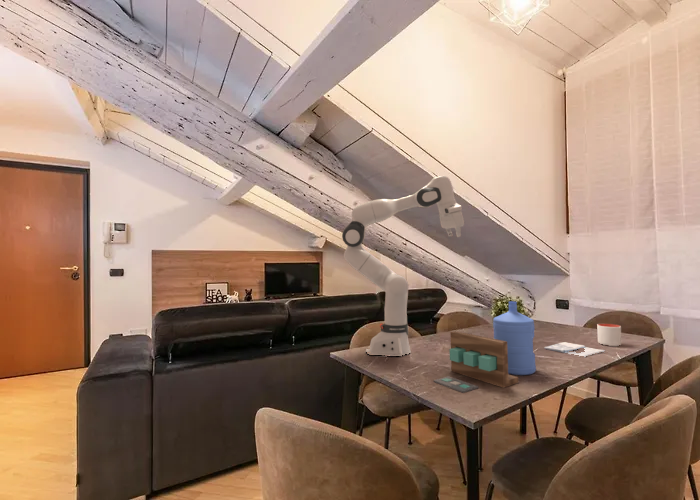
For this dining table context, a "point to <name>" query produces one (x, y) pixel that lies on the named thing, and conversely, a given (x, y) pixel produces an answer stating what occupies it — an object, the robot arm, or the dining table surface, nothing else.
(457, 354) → the button far
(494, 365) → the button near
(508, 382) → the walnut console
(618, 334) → the cup
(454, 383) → the card
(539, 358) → the dining table surface
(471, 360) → the button middle
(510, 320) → the water jug
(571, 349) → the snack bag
